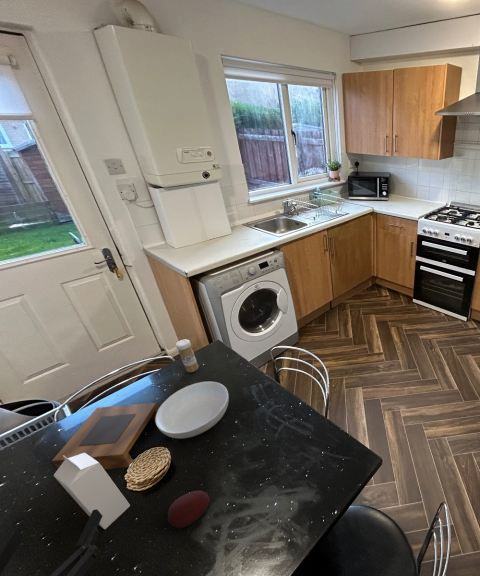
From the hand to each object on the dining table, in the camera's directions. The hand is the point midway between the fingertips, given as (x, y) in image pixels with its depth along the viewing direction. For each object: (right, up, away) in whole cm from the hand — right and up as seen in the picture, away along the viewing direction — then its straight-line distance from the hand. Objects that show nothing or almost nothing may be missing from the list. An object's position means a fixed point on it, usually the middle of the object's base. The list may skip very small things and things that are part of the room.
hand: (58, 523), depth 64 cm
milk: (-3, -9, +16) cm, 18 cm away
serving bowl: (+5, +4, +40) cm, 41 cm away
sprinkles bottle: (-10, +16, +61) cm, 64 cm away
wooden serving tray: (-16, +1, +33) cm, 37 cm away
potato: (+18, -10, +15) cm, 26 cm away
